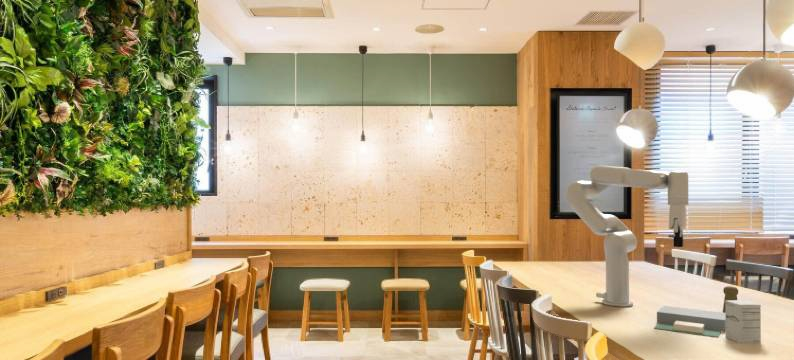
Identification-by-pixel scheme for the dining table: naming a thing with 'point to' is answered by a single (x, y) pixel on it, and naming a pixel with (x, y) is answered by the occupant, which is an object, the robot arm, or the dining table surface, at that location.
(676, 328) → the card
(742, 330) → the supplement box
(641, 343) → the dining table surface
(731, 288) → the cork
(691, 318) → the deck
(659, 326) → the mat
